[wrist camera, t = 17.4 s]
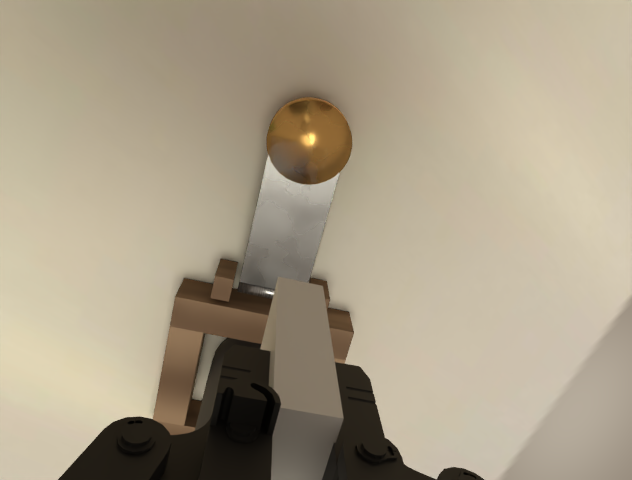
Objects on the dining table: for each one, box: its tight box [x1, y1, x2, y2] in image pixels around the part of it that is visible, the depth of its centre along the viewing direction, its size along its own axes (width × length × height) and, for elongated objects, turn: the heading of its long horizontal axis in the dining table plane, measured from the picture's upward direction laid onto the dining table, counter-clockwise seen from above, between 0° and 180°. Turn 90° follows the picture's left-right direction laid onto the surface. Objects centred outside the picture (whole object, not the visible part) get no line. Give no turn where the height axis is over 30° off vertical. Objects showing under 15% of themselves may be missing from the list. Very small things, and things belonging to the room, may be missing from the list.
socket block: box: [153, 259, 354, 435], centre depth 37 cm, size 14×12×3 cm
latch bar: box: [237, 97, 352, 299], centre depth 32 cm, size 14×5×1 cm, turn 166°
